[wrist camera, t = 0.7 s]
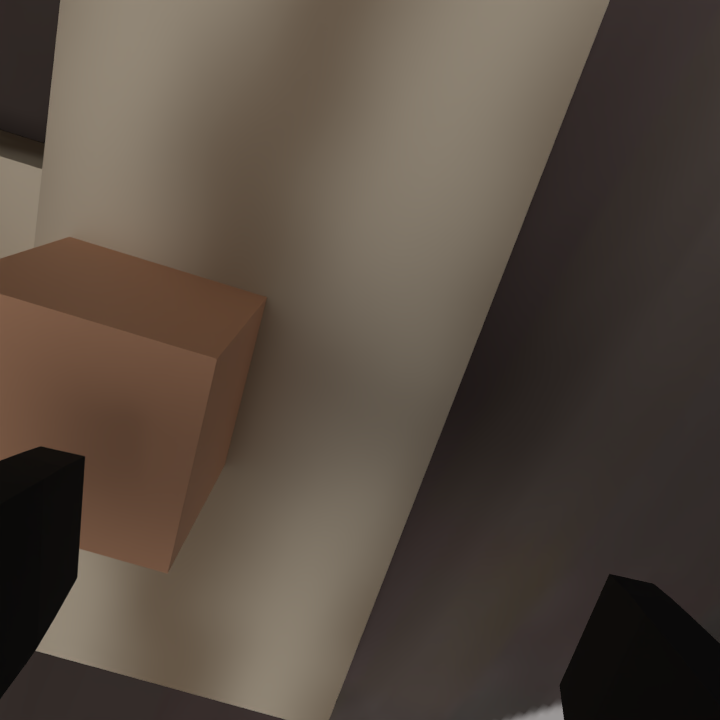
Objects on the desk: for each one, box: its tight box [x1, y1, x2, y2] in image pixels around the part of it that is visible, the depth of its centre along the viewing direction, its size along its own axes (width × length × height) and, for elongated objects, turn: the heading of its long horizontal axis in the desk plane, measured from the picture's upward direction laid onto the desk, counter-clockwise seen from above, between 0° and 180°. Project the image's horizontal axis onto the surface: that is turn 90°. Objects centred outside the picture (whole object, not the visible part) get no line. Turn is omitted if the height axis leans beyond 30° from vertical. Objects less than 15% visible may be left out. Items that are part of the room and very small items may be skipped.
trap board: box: [0, 0, 610, 720], centre depth 15 cm, size 22×20×4 cm
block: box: [0, 237, 267, 574], centre depth 13 cm, size 4×4×4 cm
